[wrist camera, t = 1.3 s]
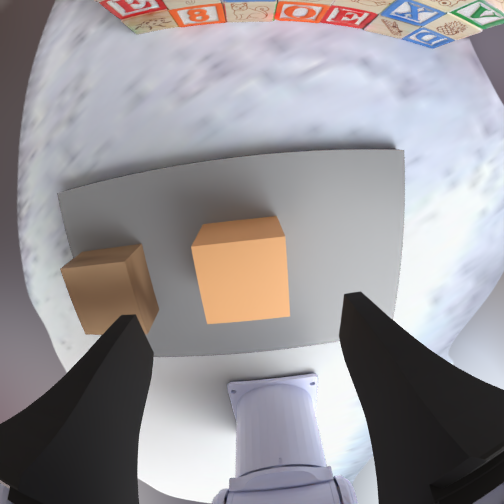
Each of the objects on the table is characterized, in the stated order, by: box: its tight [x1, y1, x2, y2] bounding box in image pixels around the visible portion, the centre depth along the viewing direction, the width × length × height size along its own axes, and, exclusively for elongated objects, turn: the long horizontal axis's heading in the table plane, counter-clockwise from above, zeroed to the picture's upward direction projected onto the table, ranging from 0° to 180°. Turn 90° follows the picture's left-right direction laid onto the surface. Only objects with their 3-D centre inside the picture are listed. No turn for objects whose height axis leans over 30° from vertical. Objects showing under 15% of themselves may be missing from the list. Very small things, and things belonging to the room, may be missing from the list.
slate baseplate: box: [57, 149, 405, 357], centre depth 19 cm, size 14×24×1 cm, turn 96°
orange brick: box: [191, 216, 290, 324], centre depth 16 cm, size 4×4×4 cm
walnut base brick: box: [60, 244, 159, 335], centre depth 17 cm, size 5×5×3 cm
